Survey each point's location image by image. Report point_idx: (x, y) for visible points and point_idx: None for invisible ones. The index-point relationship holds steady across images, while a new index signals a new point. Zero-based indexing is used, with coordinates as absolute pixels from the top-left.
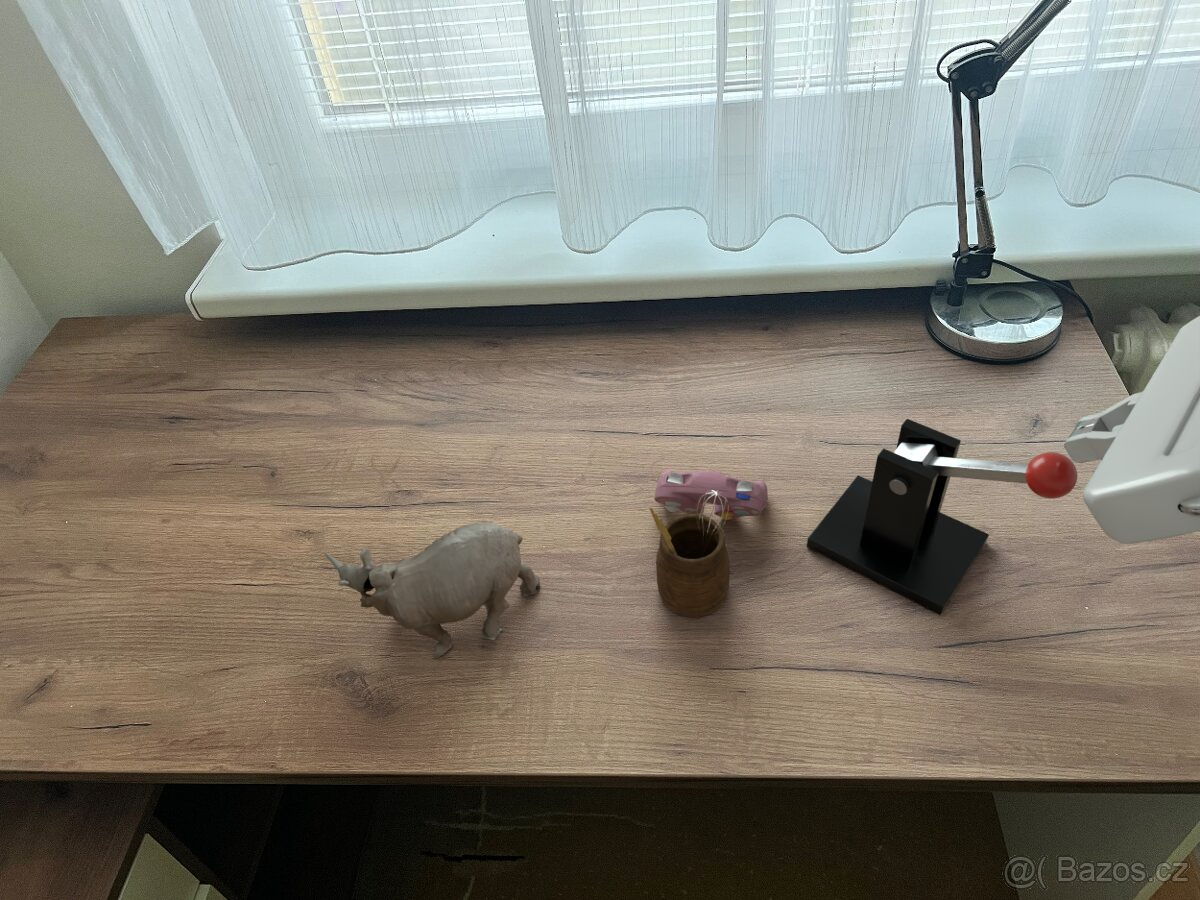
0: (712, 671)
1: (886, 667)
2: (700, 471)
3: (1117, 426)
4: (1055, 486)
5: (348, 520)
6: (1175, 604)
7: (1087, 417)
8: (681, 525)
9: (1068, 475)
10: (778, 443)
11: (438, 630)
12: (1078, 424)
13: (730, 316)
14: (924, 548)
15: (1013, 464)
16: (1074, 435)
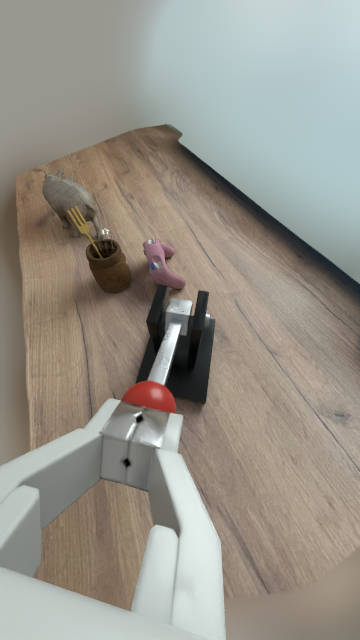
0: (73, 300)
1: (92, 370)
2: (157, 245)
3: (26, 502)
4: None
5: (114, 191)
6: None
7: (174, 424)
8: (116, 247)
9: None
10: (222, 284)
11: (61, 216)
12: (158, 412)
13: (295, 242)
14: (175, 366)
15: (163, 370)
16: (119, 408)
